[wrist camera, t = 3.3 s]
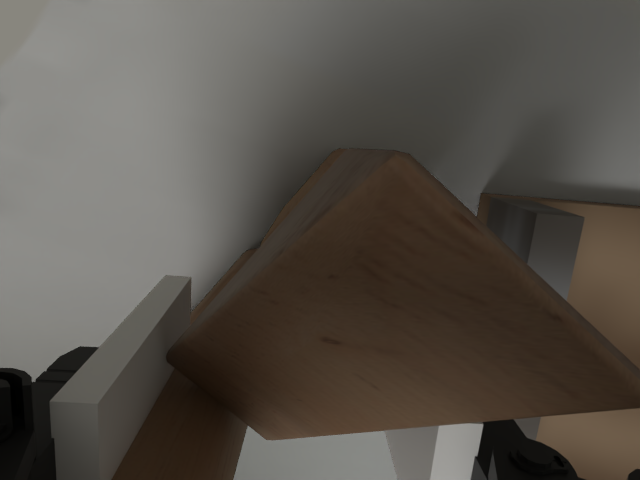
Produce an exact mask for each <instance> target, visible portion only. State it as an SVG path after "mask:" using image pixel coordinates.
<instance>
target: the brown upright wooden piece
mask: <svg viewBox="0 0 640 480" xmlns="http://www.w3.org/2000/svg"><path fill="white" fill-rule="evenodd" d="M166 360H167V362H168V363H169V364H170V365H172V366H173V367H174V368H175V369H174V371H173V372H172V374H171V376H170V378H169V379H168V381H167V383H166V385H165V386H164V388H163V390H162V392H161V393H160V395H159V397H158V399H157V400H156V402H155V404H154V406H153V407H152V409H151V411H150V413H149V414H148V416H147V418H146V420H145V421H144V423H143V425H142V427H141V428H140V430H139V432H138V434H137V435H136V437H135V439H134V441H133V442H132V444H131V446H130V448H129V450H128V451H127V453H126V455H125V457H124V458H123V460H122V462H121V464H120V465H119V467H118V469H117V471H116V472H115V474H114V476H113V478H112V479H111V480H233V478H234V474H235V471H236V467H237V463H238V459H239V456H240V452H241V448H242V444H243V441H244V437H245V433H246V429H247V426H249V427H251V428H252V429H253V430H255V431H256V432H257V433H258V434H260V435H261V436H262V437H264V438H265V439H266V440H281V439H293V438H304V437H316V436H327V435H339V434H350V433H362V432H373V431H385V430H396V429H407V428H419V427H430V426H442V425H453V424H465V423H476V422H488V421H499V420H511V419H522V418H533V417H545V416H556V415H568V414H579V413H591V412H602V411H614V410H625V409H637V408H640V369H639V368H638V367H637V366H635V365H634V364H633V363H632V362H631V361H630V360H629V359H628V358H627V357H626V356H625V355H624V354H623V353H622V352H621V351H619V350H618V349H617V348H616V347H615V346H614V345H613V344H612V343H611V342H610V341H609V340H608V339H607V338H606V337H604V336H603V335H602V334H601V333H600V332H599V331H598V330H597V329H596V328H595V327H594V326H593V325H592V324H591V323H590V322H588V321H587V320H586V319H585V318H584V317H583V316H582V315H581V314H580V313H579V312H578V311H577V310H576V309H575V308H574V307H572V306H571V305H570V304H569V303H568V302H567V301H566V300H565V299H564V298H563V297H562V296H561V295H560V294H559V293H557V292H556V291H555V290H554V289H553V288H552V287H551V286H550V285H549V284H548V283H547V282H546V281H545V280H544V279H543V278H541V277H540V276H539V275H538V274H537V273H536V272H535V271H534V270H533V269H532V268H531V267H530V266H529V265H528V264H527V263H525V262H524V261H523V260H522V259H521V258H520V257H519V256H518V255H517V254H516V253H515V252H514V251H513V250H512V249H510V248H509V247H508V246H507V245H506V244H505V243H504V242H503V241H502V240H501V239H500V238H499V237H498V236H497V235H496V234H494V233H493V232H492V231H491V230H490V229H489V228H488V227H487V226H486V225H485V224H484V223H483V222H482V221H481V220H480V219H478V218H477V217H476V216H475V215H474V214H473V213H472V212H471V211H470V210H469V209H468V208H467V207H466V206H465V205H463V204H462V203H461V202H460V201H459V200H458V199H457V198H456V197H455V196H454V195H453V194H452V193H451V192H450V191H449V190H447V189H446V188H445V187H444V186H443V185H442V184H441V183H440V182H439V181H438V180H437V179H436V178H435V177H434V176H433V175H431V174H430V173H429V172H428V171H427V170H426V169H425V168H424V167H423V166H422V165H421V164H420V163H419V162H418V161H416V160H415V159H414V158H413V157H412V156H411V155H410V154H407V153H403V152H399V151H395V150H375V149H356V148H349V149H340V148H339V149H337V150H335V151H333V152H332V153H331V154H330V155H329V156H328V158H327V159H326V160H325V161H324V162H323V163H322V164H321V166H320V167H319V168H318V169H317V170H316V171H315V172H314V174H313V175H312V176H311V177H310V178H309V179H308V180H307V181H306V183H305V184H304V185H303V186H302V187H301V188H300V189H299V191H298V192H297V193H296V194H295V195H294V196H293V197H292V199H291V200H290V201H289V202H288V203H287V204H286V205H285V207H284V208H283V209H282V211H281V212H280V214H279V215H278V217H277V218H276V220H275V222H274V223H273V225H272V226H271V228H270V229H269V231H268V233H267V234H266V236H265V237H264V239H263V240H262V242H261V245H260V247H259V248H258V249H250V250H247V251H246V252H245V253H243V254H242V255H241V257H240V258H239V259H238V260H237V261H236V262H235V263H234V265H233V266H232V267H231V268H230V269H229V270H228V271H227V273H226V274H225V275H224V276H223V277H222V278H221V279H220V280H219V282H218V283H217V284H216V285H215V286H214V287H213V288H212V290H211V291H210V292H209V293H208V294H207V295H206V296H205V298H204V299H203V300H202V301H201V302H200V303H199V304H198V306H197V307H196V308H195V309H194V310H193V311H192V312H191V317H190V327H189V328H188V329H187V330H186V331H185V332H184V333H183V334H182V336H181V337H180V338H179V339H178V340H177V341H176V342H175V343H174V345H173V346H172V347H171V348H170V349H169V350H168V353H167V355H166Z"/></svg>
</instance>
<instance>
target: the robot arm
mask: <svg viewBox="0 0 640 480" xmlns="http://www.w3.org/2000/svg"><path fill="white" fill-rule="evenodd" d="M190 317H191V277H183V276H168V275H166V276H165V277H164V278H163V279H162V280H161V281H160V282H159V283H158V284H157V285H156V286H155V287H154V289H153V290H152V291H151V292H150V293H149V294H148V295H147V296H146V297H145V298H144V299H143V300H142V302H141V303H140V304H139V305H138V306H137V307H136V308H135V309H134V310H133V311H132V312H131V313H130V315H129V316H128V317H127V318H126V319H125V320H124V321H123V322H122V323H121V324H120V325H119V326H118V328H117V329H116V330H115V331H114V332H113V333H112V334H111V335H110V336H109V337H108V338H107V339H106V341H105V342H104V343H103V344H102V345H101V346H100V347H99V348H98V347H81V346H80V347H78V348H76V349H74V350H72V351H70V352H68V353H66V354H64V355H62V356H60V357H59V358H58V359H57V360H56V361H55V362H54V363H53V364H52V365H51V366H49V367H48V368H47V371H44V372H43V373H42V374H41V375H40V376H39V377H38V378H37V379H36V381H35V382H33V383H32V378H31V376H30V375H28V374H27V373H26V372H25V371H21V370H18V369H14V368H0V480H111V479H112V478H113V476H114V474H115V472H116V471H117V469H118V467H119V465H120V464H121V462H122V460H123V458H124V457H125V455H126V453H127V451H128V450H129V448H130V446H131V444H132V442H133V441H134V439H135V437H136V435H137V434H138V432H139V430H140V428H141V427H142V425H143V423H144V421H145V420H146V418H147V416H148V414H149V413H150V411H151V409H152V407H153V406H154V404H155V402H156V400H157V399H158V397H159V395H160V393H161V392H162V390H163V388H164V386H165V385H166V383H167V381H168V379H169V378H170V376H171V374H172V372H173V371H174V369H175V368H174V367H173V366H172V365H170V364H169V363H168V362H167V360H166V355H167V353H168V350H169V349H170V348H171V347H172V346H173V345H174V343H175V342H176V341H177V340H178V339H179V338H180V337H181V336H182V334H183V333H184V332H185V331H186V330H187V329H188V328H189V327H190ZM385 434H386V438H387V441H388V445H389V449H390V452H391V456H392V460H393V463H394V467H395V471H396V474H397V478H398V480H586V479H583V478H580V477H578V476H577V473H576V471H575V469H574V468H573V466H572V465H571V464H570V462H569V461H568V460H567V459H566V458H565V457H564V456H563V455H561V454H560V453H559V452H558V451H557V450H555V449H553V448H551V447H549V446H547V445H545V444H543V443H542V442H538V441H535V440H532V439H529V438H527V437H526V436H525V434H524V433H523V432H522V430H521V429H520V427H519V426H518V425H517V423H516V422H515V421H514V419H511V420H499V421H488V422H476V423H465V424H453V425H442V426H430V427H419V428H407V429H396V430H385ZM627 480H640V469H635V470H634V471H632V472H631V473H630V474H628V478H627Z"/></svg>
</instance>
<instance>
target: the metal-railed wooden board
mask: <svg viewBox="0 0 640 480" xmlns="http://www.w3.org/2000/svg"><path fill="white" fill-rule="evenodd" d="M477 218H478V219H480V220H481V221H482V222H483V223H484V224H485V225H486V226H487V227H488V228H489V229H490V230H491V231H492V232H493V233H494V234H496V235H497V236H498V237H499V238H500V239H501V240H502V241H503V242H504V243H505V244H506V245H507V246H508V247H509V248H510V249H512V250H513V251H514V252H515V253H516V254H517V255H518V256H519V257H520V258H521V259H522V260H523V261H524V262H525V263H527V264H528V265H529V266H530V267H531V268H532V269H533V270H534V271H535V272H536V273H537V274H538V275H539V276H540V277H541V278H543V279H544V280H545V281H546V282H547V283H548V284H549V285H550V286H551V287H552V288H553V289H554V290H555V291H556V292H557V293H559V294H560V295H561V296H562V297H563V298H564V299H565V300H566V301H567V302H568V303H569V304H570V305H571V306H572V307H574V308H575V309H576V310H577V311H578V312H579V313H580V314H581V315H582V316H583V317H584V318H585V319H586V320H587V321H588V322H590V323H591V324H592V325H593V326H594V327H595V328H596V329H597V330H598V331H599V332H600V333H601V334H602V335H603V336H604V337H606V338H607V339H608V340H609V341H610V342H611V343H612V344H613V345H614V346H615V347H616V348H617V349H618V350H619V351H621V352H622V353H623V354H624V355H625V356H626V357H627V358H628V359H629V360H630V361H631V362H632V363H633V364H634V365H635V366H637V367H638V368H639V369H640V206H633V205H621V204H608V203H596V202H584V201H571V200H559V199H546V198H534V197H522V196H509V195H497V194H484V193H481V196H480V203H479V209H478V215H477ZM514 421H515V422H516V423H517V425H518V426H519V427H520V429H521V430H522V432H523V433H524V434H525V436H526V437H527V438H529V439H532V440H535V441H538V442H542V443H543V444H545V445H547V446H549V447H551V448H553V449H555V450H557V451H558V452H559V453H560V454H561V455H563V456H564V457H565V458H566V459H567V460H568V461H569V462H570V464H571V465H572V466H573V468H574V469H575V471H576V473H577V476H578V477H580V478H583V479H586V480H627V478H628V474H630V473H631V472H632V471H634V470H635V469H640V408H637V409H625V410H614V411H602V412H591V413H579V414H568V415H556V416H545V417H533V418H522V419H514Z"/></svg>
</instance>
